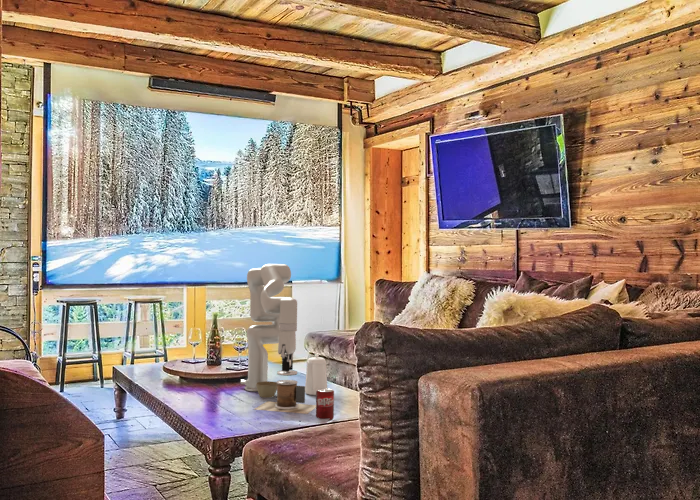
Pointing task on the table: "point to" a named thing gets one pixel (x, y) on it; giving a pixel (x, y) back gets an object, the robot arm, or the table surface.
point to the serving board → (301, 409)
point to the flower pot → (266, 389)
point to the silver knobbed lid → (287, 373)
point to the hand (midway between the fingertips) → (287, 369)
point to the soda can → (325, 404)
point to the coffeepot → (315, 375)
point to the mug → (289, 395)
